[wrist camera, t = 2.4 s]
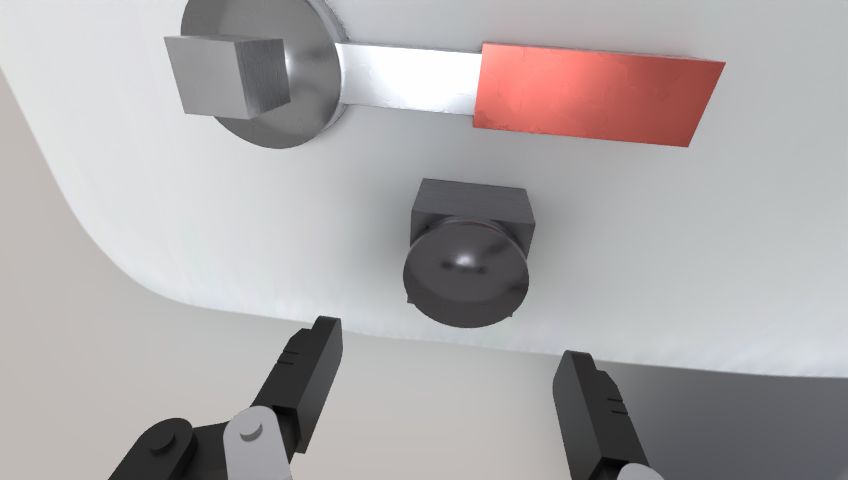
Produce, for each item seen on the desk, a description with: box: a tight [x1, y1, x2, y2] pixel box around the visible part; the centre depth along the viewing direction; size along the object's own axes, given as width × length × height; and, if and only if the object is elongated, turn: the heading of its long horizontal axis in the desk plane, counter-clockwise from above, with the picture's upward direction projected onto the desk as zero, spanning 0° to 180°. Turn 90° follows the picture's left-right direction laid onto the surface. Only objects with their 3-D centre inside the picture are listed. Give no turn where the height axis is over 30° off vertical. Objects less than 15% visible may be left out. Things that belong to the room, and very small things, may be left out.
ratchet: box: [164, 0, 726, 149], centre depth 15 cm, size 22×7×6 cm, turn 87°
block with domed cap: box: [403, 178, 535, 328], centre depth 19 cm, size 6×6×5 cm
